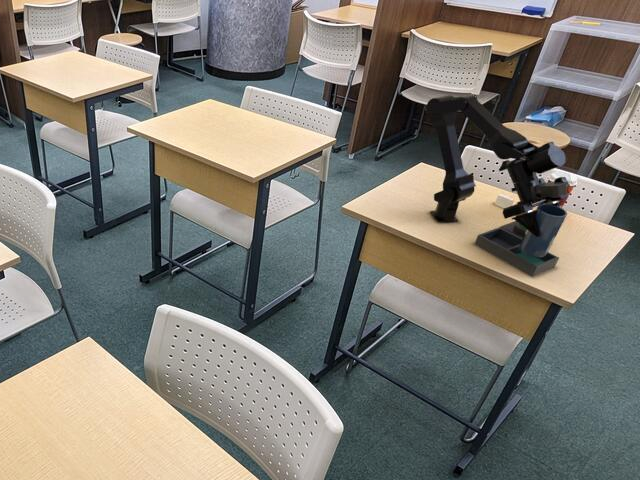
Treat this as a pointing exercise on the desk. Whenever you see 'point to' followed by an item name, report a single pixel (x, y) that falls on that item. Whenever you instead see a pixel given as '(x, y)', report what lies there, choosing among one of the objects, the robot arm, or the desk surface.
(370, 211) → the desk surface
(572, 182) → the paper cup
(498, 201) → the eraser
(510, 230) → the control block
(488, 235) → the divided tray
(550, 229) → the tumbler
